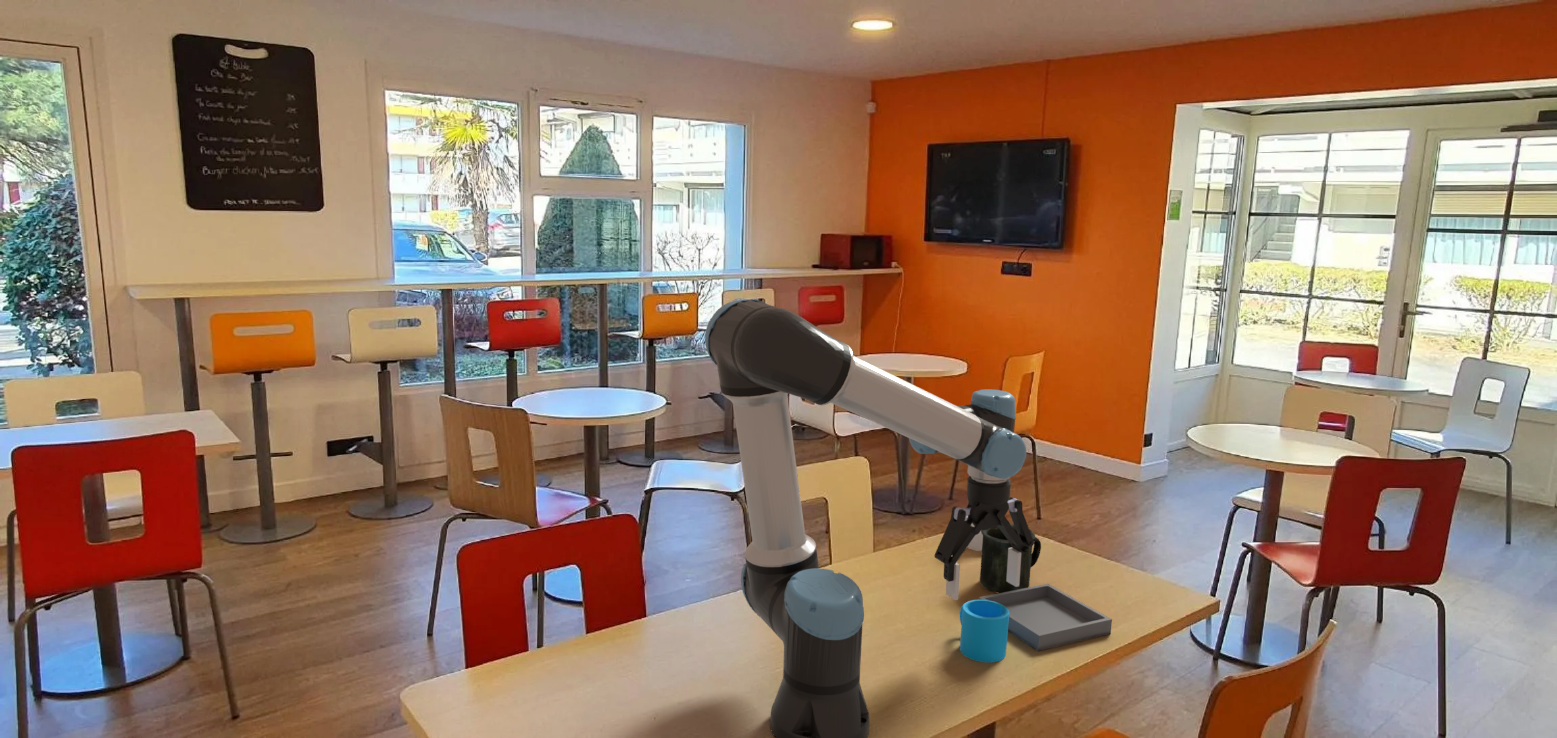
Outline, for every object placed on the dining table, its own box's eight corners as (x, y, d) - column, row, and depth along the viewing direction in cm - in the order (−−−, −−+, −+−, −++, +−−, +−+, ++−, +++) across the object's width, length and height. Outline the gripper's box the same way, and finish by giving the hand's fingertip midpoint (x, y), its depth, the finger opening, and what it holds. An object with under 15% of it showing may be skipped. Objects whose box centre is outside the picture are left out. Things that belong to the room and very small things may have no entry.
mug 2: (966, 580, 198) (970, 527, 195) (1019, 569, 204) (1023, 518, 202) (1000, 600, 188) (1004, 544, 186) (1054, 588, 195) (1058, 534, 192)
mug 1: (1015, 659, 164) (1018, 616, 162) (975, 665, 161) (978, 622, 160) (978, 629, 175) (981, 589, 174) (941, 634, 172) (943, 594, 171)
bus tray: (1038, 651, 167) (1039, 635, 166) (977, 611, 183) (978, 597, 182) (1110, 633, 174) (1112, 619, 174) (1046, 597, 190) (1048, 583, 189)
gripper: (943, 492, 154) (937, 611, 158) (1058, 474, 164) (1050, 586, 168) (918, 480, 160) (913, 593, 164) (1030, 463, 171) (1023, 571, 175)
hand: (982, 590), depth 166 cm, fingers open, 13 cm apart
